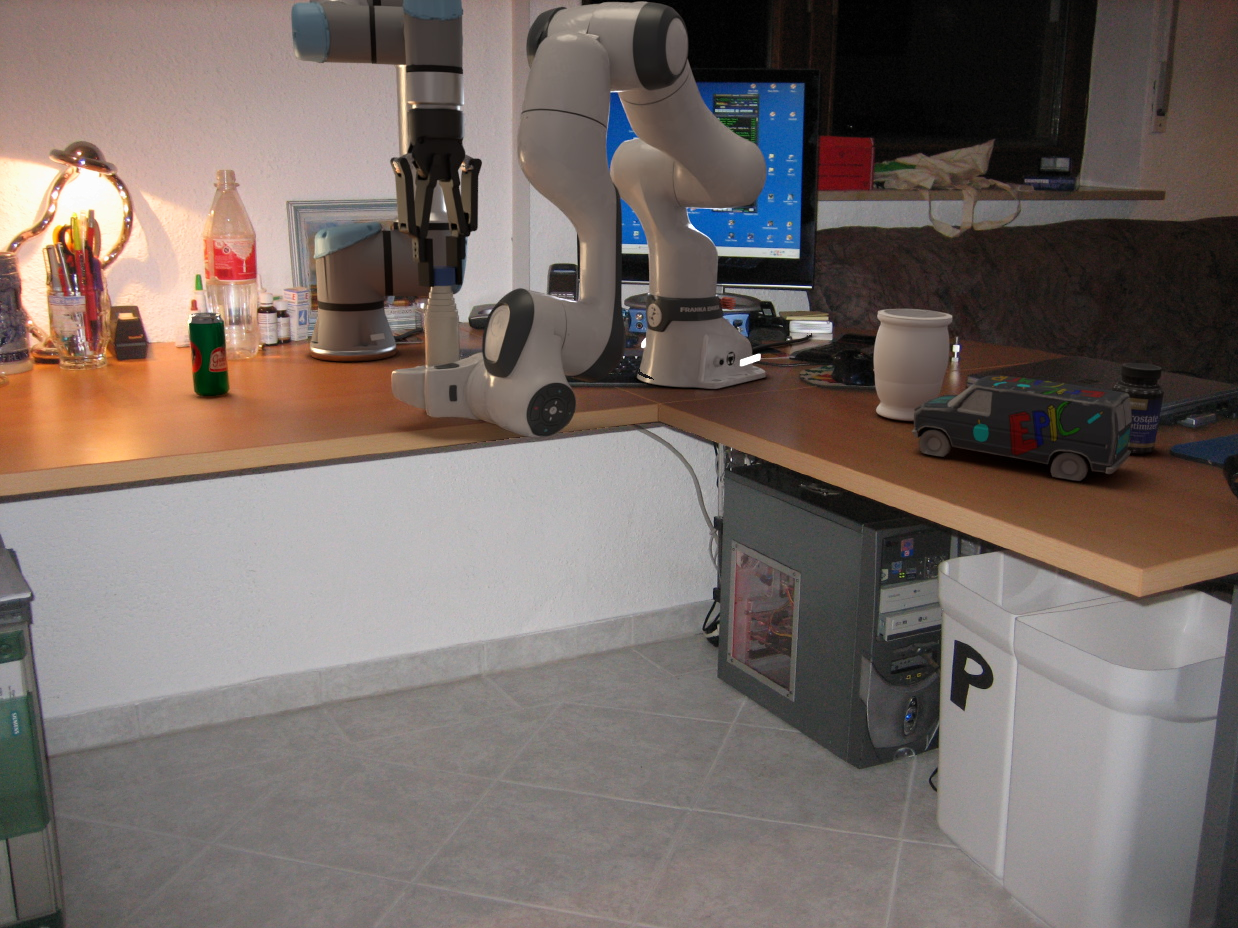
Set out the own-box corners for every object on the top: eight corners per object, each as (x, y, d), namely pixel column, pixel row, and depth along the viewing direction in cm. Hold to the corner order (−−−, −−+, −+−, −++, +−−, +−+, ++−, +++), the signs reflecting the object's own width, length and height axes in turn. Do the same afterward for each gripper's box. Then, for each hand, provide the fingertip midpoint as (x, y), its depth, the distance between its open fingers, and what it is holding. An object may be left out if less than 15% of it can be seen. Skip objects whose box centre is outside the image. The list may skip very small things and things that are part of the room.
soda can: (218, 398, 158) (211, 317, 155) (187, 396, 159) (179, 316, 156) (236, 391, 163) (230, 313, 160) (206, 389, 164) (199, 311, 161)
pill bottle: (1117, 454, 138) (1130, 370, 135) (1094, 442, 144) (1106, 361, 140) (1163, 454, 138) (1177, 370, 135) (1139, 442, 144) (1152, 361, 141)
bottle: (440, 417, 150) (436, 273, 145) (420, 411, 154) (415, 270, 148) (468, 412, 154) (464, 271, 148) (447, 406, 157) (443, 268, 151)
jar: (854, 409, 159) (862, 309, 155) (910, 404, 163) (920, 306, 159) (898, 426, 150) (909, 320, 146) (957, 420, 154) (969, 317, 150)
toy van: (934, 435, 146) (942, 362, 143) (1130, 468, 132) (1143, 388, 129) (905, 451, 137) (912, 375, 134) (1110, 488, 123) (1124, 404, 121)
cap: (460, 285, 148) (460, 268, 148) (435, 286, 146) (434, 269, 145) (446, 282, 151) (445, 265, 151) (420, 283, 149) (419, 266, 148)
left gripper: (471, 111, 150) (474, 278, 157) (364, 106, 139) (372, 286, 146) (504, 110, 145) (505, 283, 152) (395, 105, 134) (402, 292, 140)
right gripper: (553, 356, 147) (502, 341, 158) (418, 371, 135) (373, 354, 146) (553, 400, 149) (503, 383, 160) (420, 419, 137) (375, 399, 148)
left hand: (440, 284), depth 149 cm, fingers closed on cap, 4 cm apart
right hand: (439, 369), depth 153 cm, fingers closed on bottle, 5 cm apart
